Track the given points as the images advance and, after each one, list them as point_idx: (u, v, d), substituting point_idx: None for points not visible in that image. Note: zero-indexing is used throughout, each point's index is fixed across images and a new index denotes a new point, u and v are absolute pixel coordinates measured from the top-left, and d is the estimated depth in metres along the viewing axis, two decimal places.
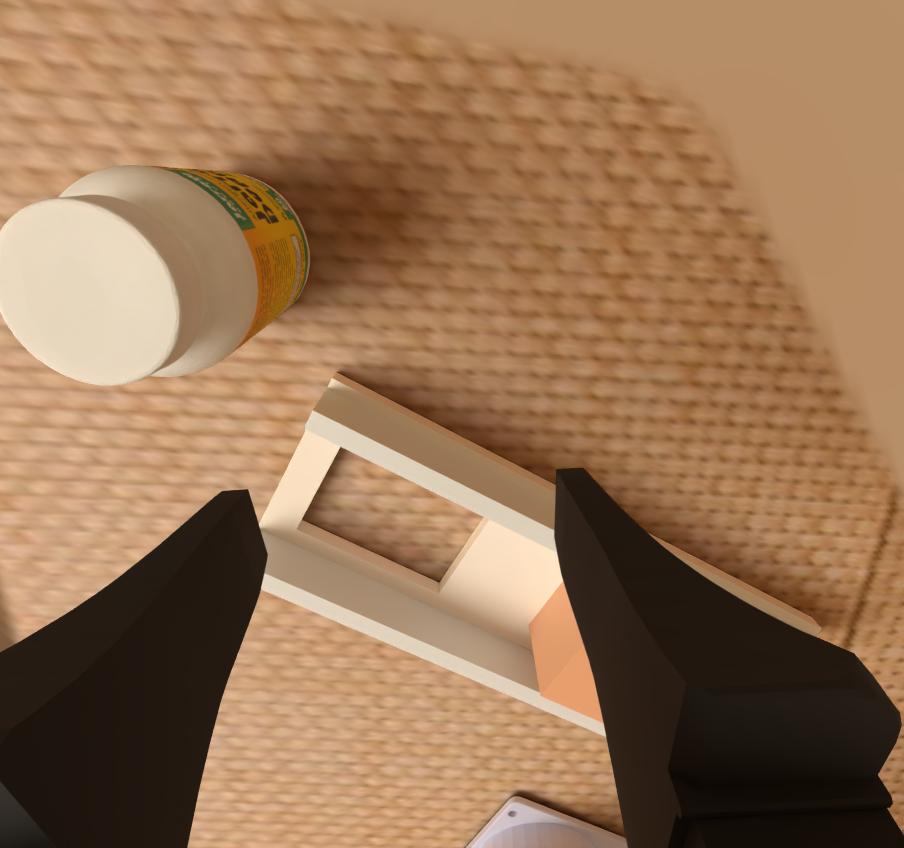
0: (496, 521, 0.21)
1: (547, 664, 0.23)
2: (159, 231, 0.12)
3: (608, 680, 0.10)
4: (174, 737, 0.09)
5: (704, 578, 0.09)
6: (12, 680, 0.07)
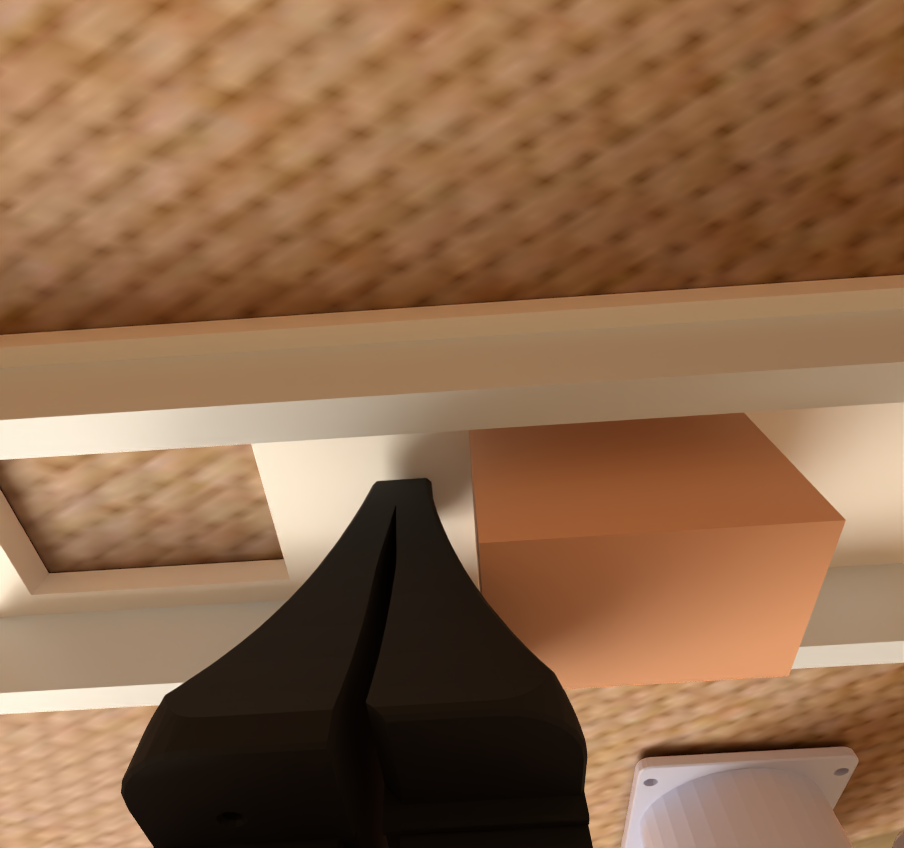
0: (160, 446, 0.10)
1: None
2: None
3: None
4: None
5: (474, 592, 0.09)
6: (283, 663, 0.07)
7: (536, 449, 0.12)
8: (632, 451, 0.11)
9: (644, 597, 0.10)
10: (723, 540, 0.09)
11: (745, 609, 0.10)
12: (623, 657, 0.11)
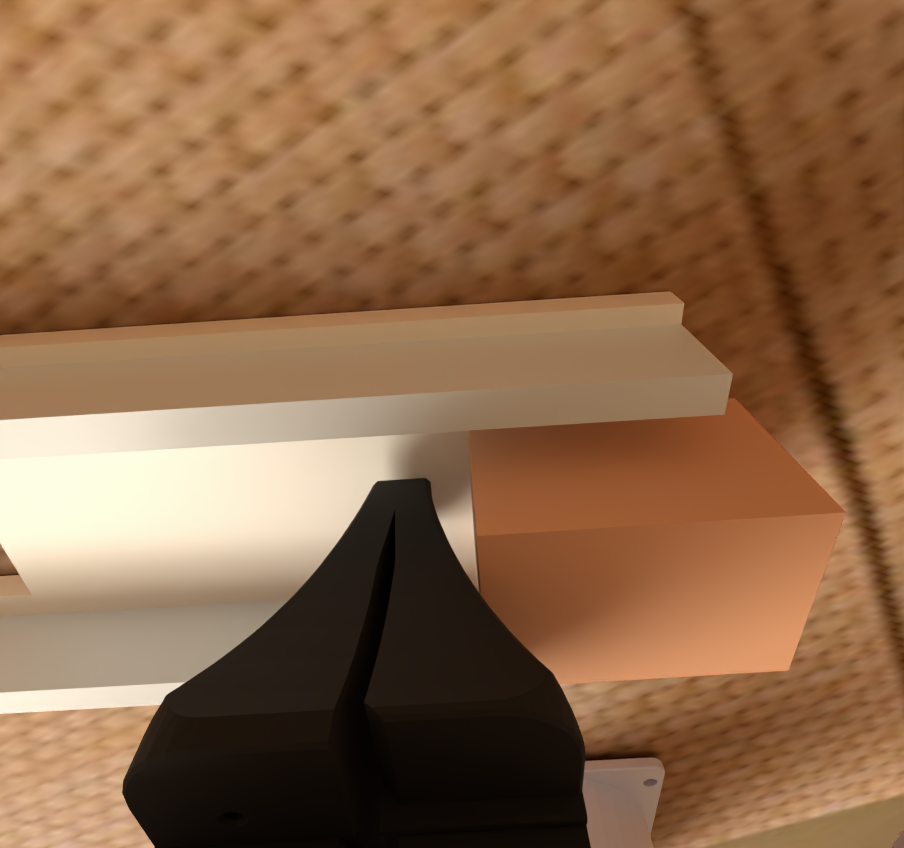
0: None
1: None
2: None
3: None
4: None
5: (473, 592, 0.09)
6: (284, 663, 0.07)
7: (535, 443, 0.12)
8: (631, 445, 0.11)
9: (643, 591, 0.10)
10: (723, 533, 0.09)
11: (744, 603, 0.10)
12: (622, 652, 0.11)
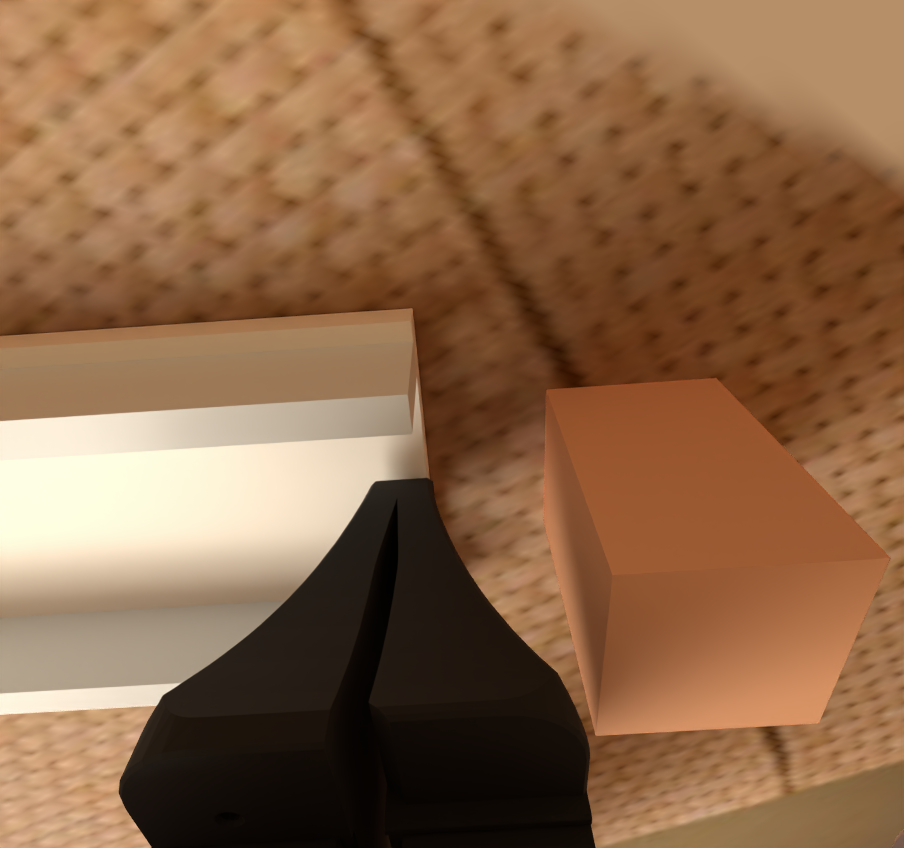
0: None
1: (774, 699, 0.10)
2: None
3: None
4: None
5: (476, 592, 0.09)
6: (282, 663, 0.07)
7: (671, 510, 0.09)
8: (652, 448, 0.11)
9: None
10: None
11: None
12: None
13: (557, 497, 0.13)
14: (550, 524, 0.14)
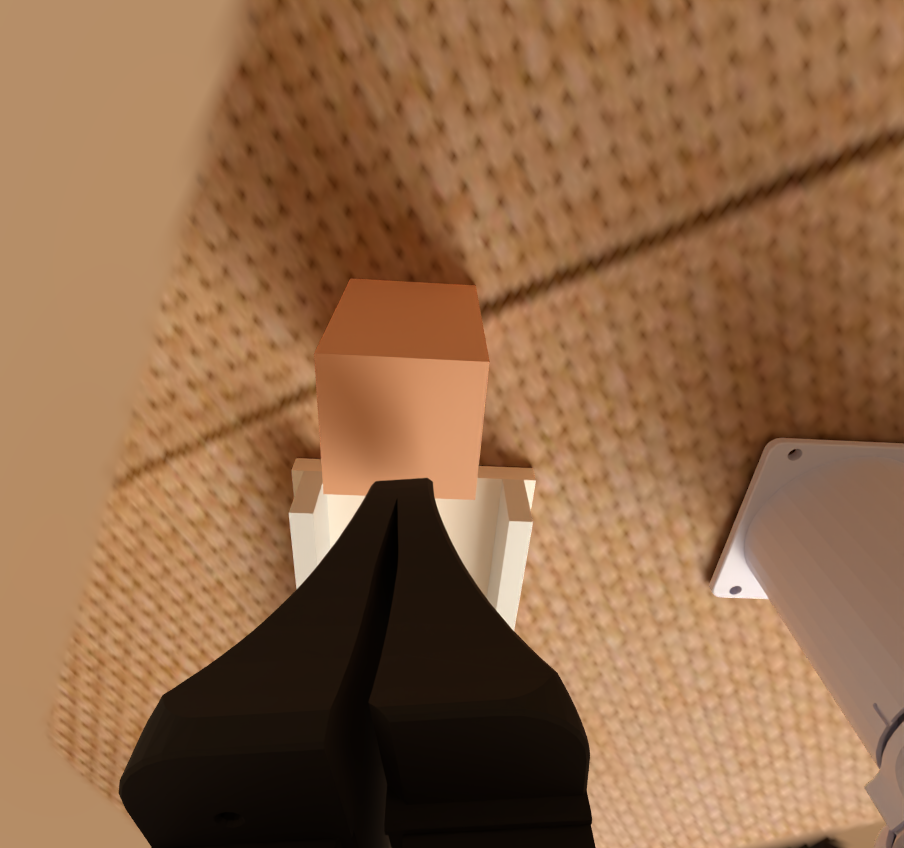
0: None
1: (453, 397, 0.14)
2: None
3: None
4: None
5: (476, 592, 0.09)
6: (281, 663, 0.07)
7: None
8: None
9: (391, 314, 0.15)
10: (350, 297, 0.16)
11: (411, 293, 0.17)
12: (450, 319, 0.15)
13: None
14: None
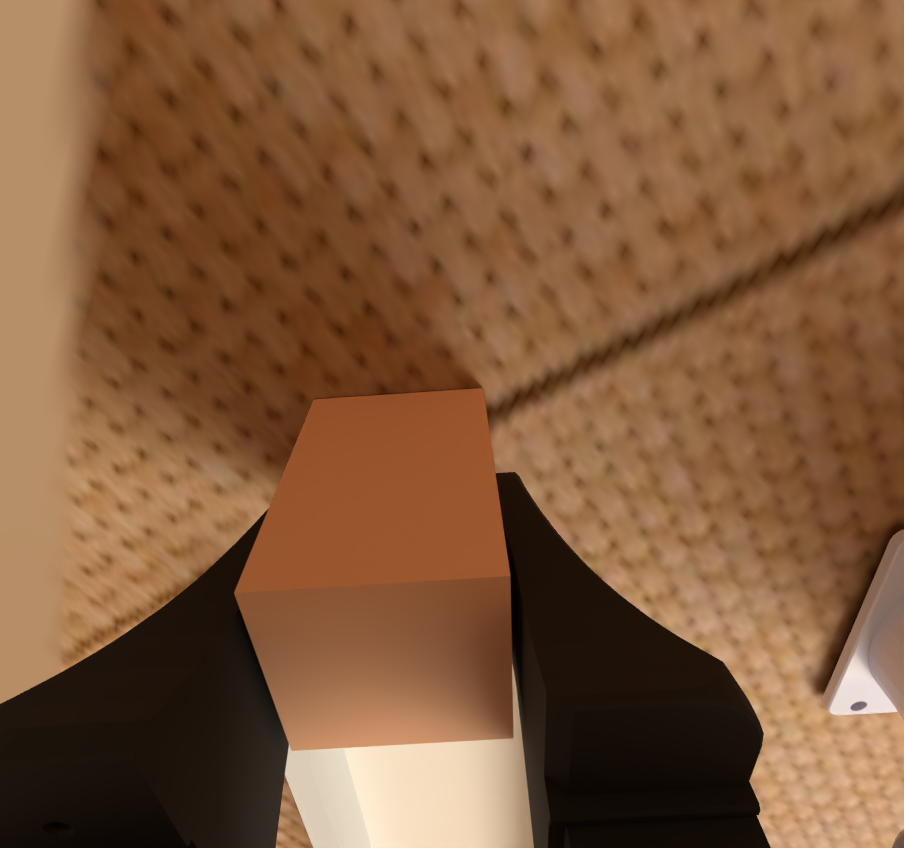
0: None
1: (459, 625, 0.09)
2: None
3: (520, 685, 0.10)
4: (264, 732, 0.09)
5: (604, 584, 0.09)
6: (129, 673, 0.07)
7: None
8: None
9: (362, 471, 0.11)
10: (308, 442, 0.12)
11: (394, 420, 0.12)
12: (447, 472, 0.10)
13: None
14: None
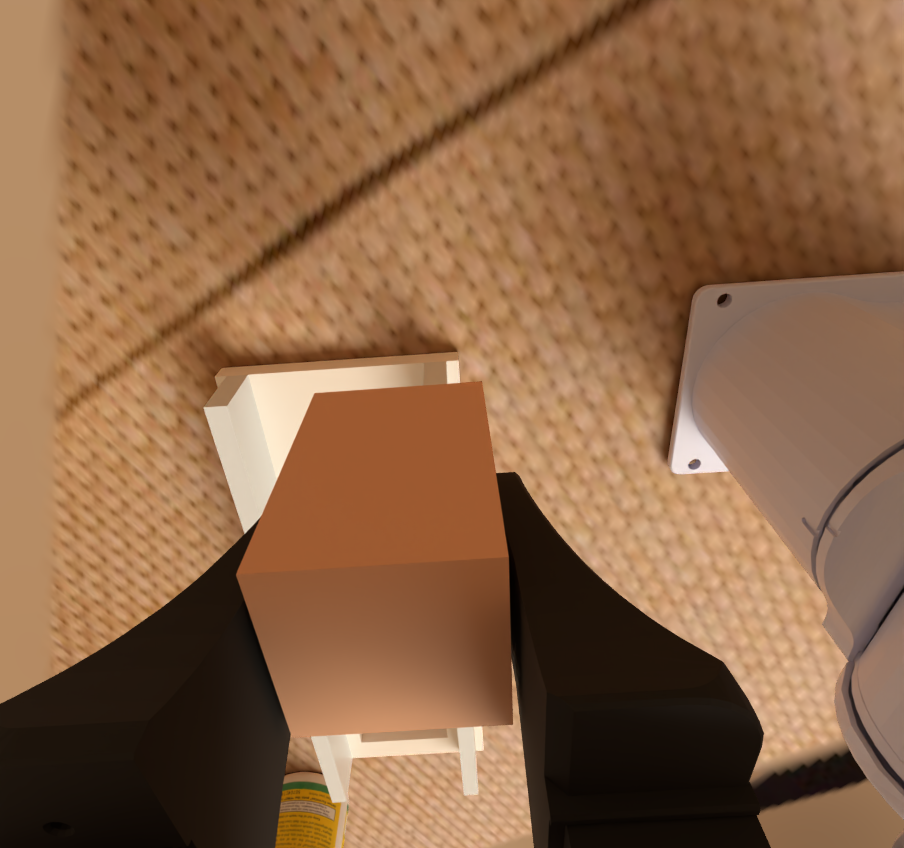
0: None
1: (459, 607, 0.09)
2: None
3: (520, 685, 0.10)
4: (264, 732, 0.09)
5: (604, 584, 0.09)
6: (129, 673, 0.07)
7: None
8: None
9: (363, 460, 0.11)
10: (309, 433, 0.12)
11: (393, 412, 0.12)
12: (447, 461, 0.11)
13: None
14: None
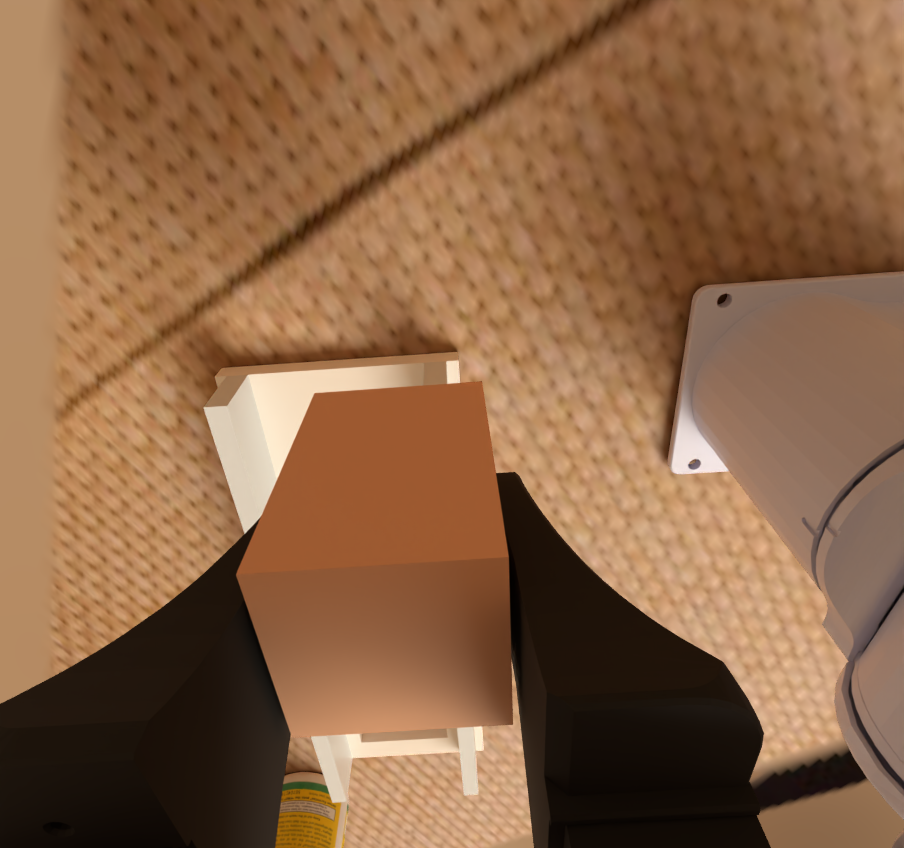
0: None
1: (459, 607, 0.09)
2: None
3: (520, 685, 0.10)
4: (264, 732, 0.09)
5: (604, 584, 0.09)
6: (129, 673, 0.07)
7: None
8: None
9: (363, 460, 0.11)
10: (309, 433, 0.12)
11: (393, 412, 0.12)
12: (447, 461, 0.11)
13: None
14: None
